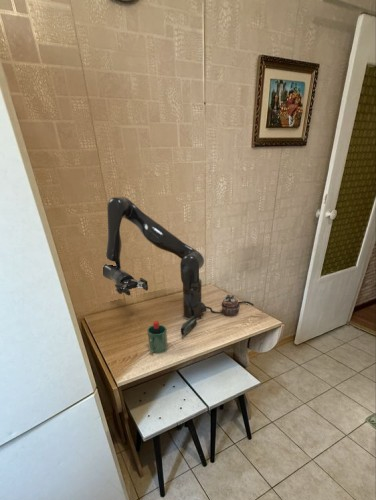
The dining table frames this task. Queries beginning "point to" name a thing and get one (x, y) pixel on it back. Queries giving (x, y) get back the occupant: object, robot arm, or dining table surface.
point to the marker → (156, 327)
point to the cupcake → (230, 306)
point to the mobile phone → (188, 325)
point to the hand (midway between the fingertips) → (138, 290)
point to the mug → (157, 339)
